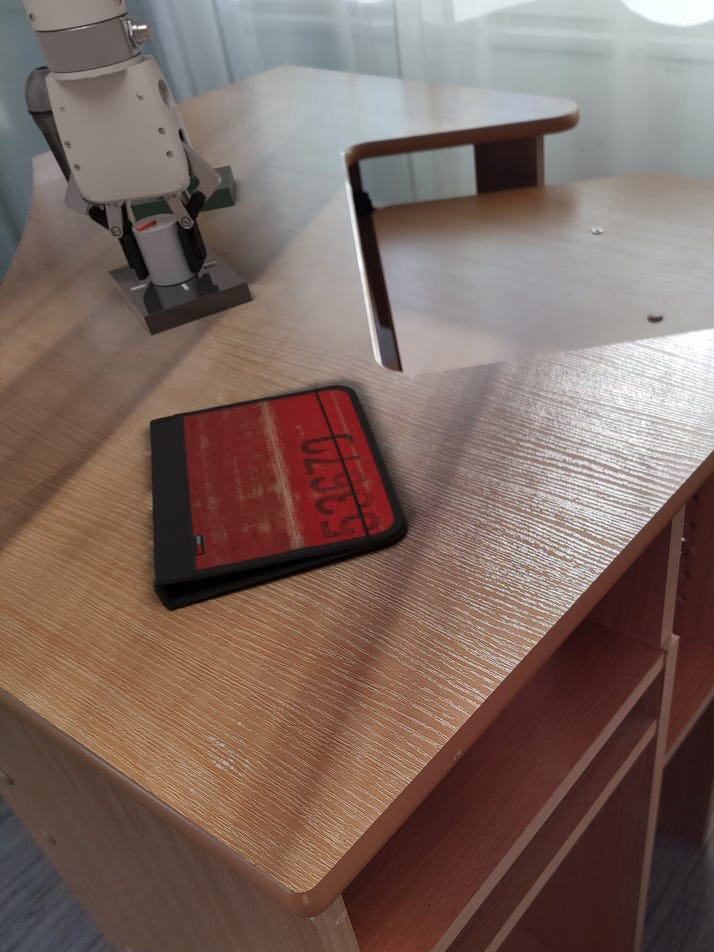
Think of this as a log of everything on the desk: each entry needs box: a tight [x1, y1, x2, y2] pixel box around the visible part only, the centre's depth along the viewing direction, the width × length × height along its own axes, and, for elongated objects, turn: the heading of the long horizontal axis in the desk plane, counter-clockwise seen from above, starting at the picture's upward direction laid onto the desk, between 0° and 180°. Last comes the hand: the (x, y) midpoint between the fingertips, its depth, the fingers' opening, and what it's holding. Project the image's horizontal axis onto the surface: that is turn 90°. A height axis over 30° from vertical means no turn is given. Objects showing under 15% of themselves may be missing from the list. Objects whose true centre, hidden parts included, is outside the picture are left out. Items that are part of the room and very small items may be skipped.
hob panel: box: [107, 244, 254, 337], centre depth 85 cm, size 14×10×3 cm
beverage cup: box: [24, 59, 71, 184], centre depth 106 cm, size 7×7×20 cm
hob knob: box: [132, 214, 196, 286], centre depth 82 cm, size 4×4×5 cm
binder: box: [149, 384, 408, 610], centre depth 61 cm, size 16×2×21 cm
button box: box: [129, 165, 236, 223], centre depth 108 cm, size 12×9×4 cm
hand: (171, 268), depth 84 cm, fingers closed on hob knob, 4 cm apart
